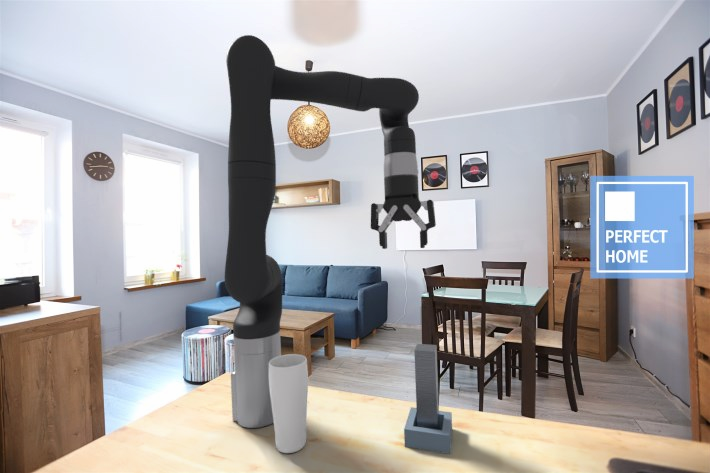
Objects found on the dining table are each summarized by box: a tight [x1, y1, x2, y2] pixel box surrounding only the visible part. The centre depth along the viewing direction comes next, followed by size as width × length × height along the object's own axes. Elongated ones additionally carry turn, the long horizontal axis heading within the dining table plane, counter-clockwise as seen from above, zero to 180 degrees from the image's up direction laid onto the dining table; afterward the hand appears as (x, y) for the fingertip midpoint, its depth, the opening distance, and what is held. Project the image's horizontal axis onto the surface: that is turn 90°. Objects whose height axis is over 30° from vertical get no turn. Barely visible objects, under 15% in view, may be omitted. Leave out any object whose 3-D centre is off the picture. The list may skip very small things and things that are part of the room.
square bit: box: [413, 343, 440, 430], centre depth 60 cm, size 4×4×16 cm
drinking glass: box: [268, 353, 309, 454], centre depth 59 cm, size 7×7×15 cm
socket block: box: [403, 406, 453, 455], centre depth 60 cm, size 8×8×3 cm
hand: (403, 248), depth 76 cm, fingers open, 8 cm apart
